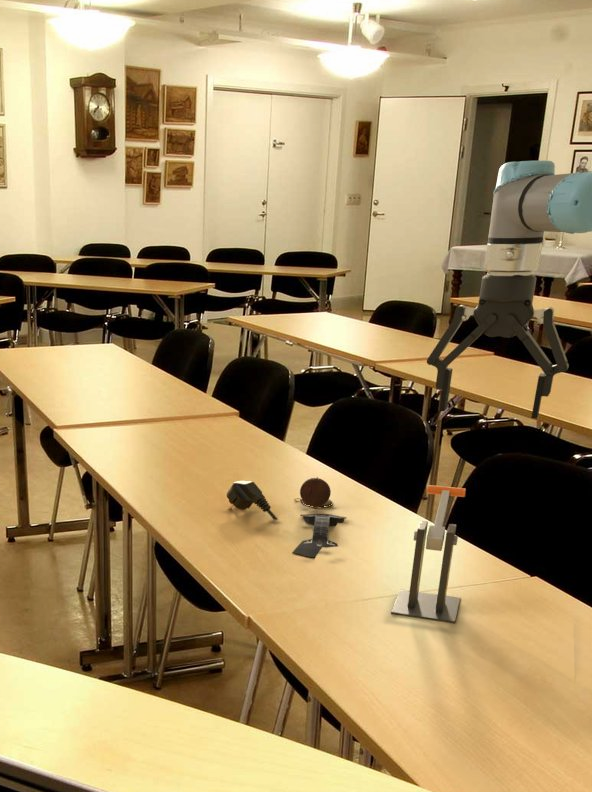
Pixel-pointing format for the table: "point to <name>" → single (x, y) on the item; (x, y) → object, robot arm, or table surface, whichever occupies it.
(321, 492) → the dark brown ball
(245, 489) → the power plug
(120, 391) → the table surface
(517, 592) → the table surface
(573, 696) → the table surface
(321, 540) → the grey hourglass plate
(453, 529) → the stand
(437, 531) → the lever
